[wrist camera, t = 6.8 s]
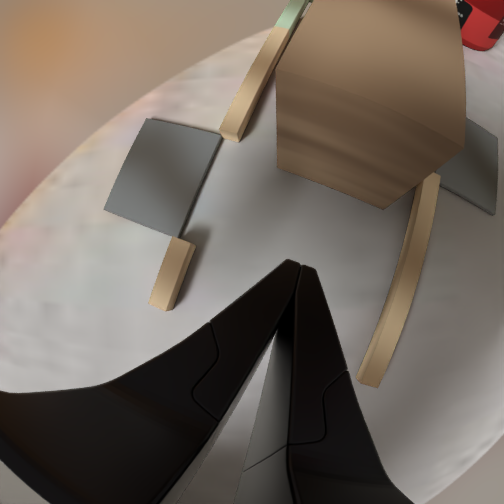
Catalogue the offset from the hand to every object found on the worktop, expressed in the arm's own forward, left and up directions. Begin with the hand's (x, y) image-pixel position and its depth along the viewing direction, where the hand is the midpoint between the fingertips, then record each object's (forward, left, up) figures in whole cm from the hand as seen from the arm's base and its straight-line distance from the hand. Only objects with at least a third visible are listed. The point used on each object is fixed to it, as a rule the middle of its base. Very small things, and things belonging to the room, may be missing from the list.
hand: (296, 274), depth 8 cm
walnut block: (+12, -1, -6) cm, 14 cm away
